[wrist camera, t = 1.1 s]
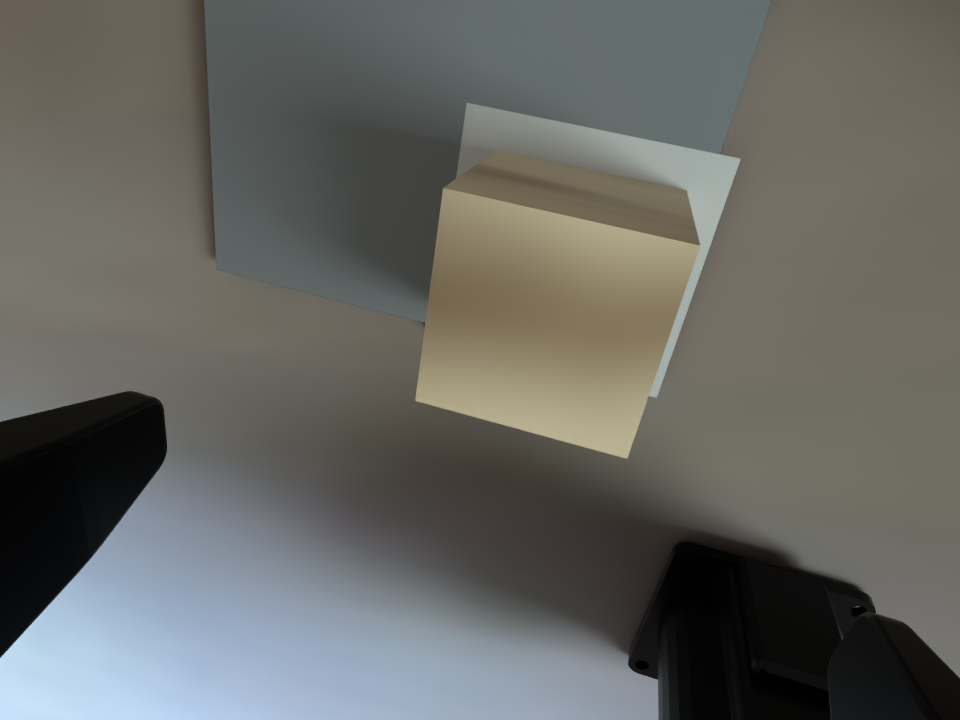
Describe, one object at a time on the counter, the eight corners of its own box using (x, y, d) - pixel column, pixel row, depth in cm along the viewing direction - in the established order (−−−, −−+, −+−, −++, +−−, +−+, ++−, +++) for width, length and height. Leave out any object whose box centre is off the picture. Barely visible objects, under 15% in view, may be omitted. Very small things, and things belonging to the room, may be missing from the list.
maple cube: (632, 360, 18) (627, 459, 14) (468, 319, 19) (415, 400, 15) (686, 190, 16) (700, 245, 12) (497, 150, 17) (443, 188, 12)
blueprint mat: (656, 388, 19) (656, 397, 19) (227, 277, 21) (216, 283, 21) (985, -557, 10) (1003, -589, 10) (195, -598, 12) (174, -627, 12)
